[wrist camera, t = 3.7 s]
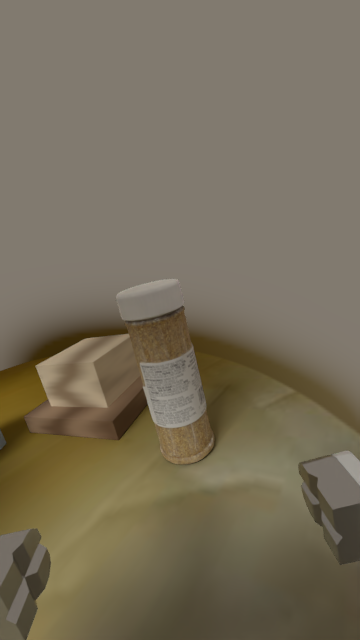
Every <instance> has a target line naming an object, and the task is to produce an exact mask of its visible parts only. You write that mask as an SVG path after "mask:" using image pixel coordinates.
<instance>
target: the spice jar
mask: <svg viewBox="0 0 360 640" xmlns="http://www.w3.org/2000/svg"><path fill="white" fill-rule="evenodd" d="M116 300H117V304H118V308H119V311H120V315H121V318H122V319H123V320H125V325H126V326H127V328H128V333H129V336H130V339H131V343H132V347H133V350H134V354H135V358H136V360H137V361H136V362H137V366H138V368H139V372H140V376H141V379H142V383H143V389H144V393H145V396H146V399H147V403H148V406H149V410H150V413H151V417H152V419H153V421H154V424H155V426H156V430H157V434H158V437H159V440H160V449H161V453H162V455H163V456H164V458H165V459H167V460H168V461H170V462H172V463H174V464H191V463H194V462H198V461H199V460H201V459H203V458H204V457H205V456H206V455H208V453H209V452H210V451H211V450H212V448H213V445H214V438H215V437H214V433H213V431H212V429H211V427H210V422H209V418H208V414H207V410H206V400H205V396H204V392H203V387H202V383H201V378H200V374H199V370H198V366H197V361H196V357H195V353H194V348H193V345H192V343H191V339H190V334H189V331H188V327H187V323H186V318H185V315H184V306H183V304H184V298H183V294H182V290H181V286H180V283H179V281H178V280H177V279H166V280H159V281H153V282H149V283H145V284H141V285H138V286H134V287H131V288H129V289H126V290H123V291H121V292H119V293H118V294H117V295H116Z"/></svg>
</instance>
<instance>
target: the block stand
mask: <svg viewBox="0 0 360 640" xmlns="http://www.w3.org/2000/svg"><path fill="white" fill-rule="evenodd" d="M136 361H137V360H136V358H135V354H134V350H133V347H132V343H131V339H130V336H129V334H122V335H113V336H104V337H95V338H86V339H84V340H82V341H80V342H78V343H76V344H75V345H73V346H71V347H69V348H67V349H65V350H64V351H62V352H60V353H58V354H56V355H54V356H53V357H51V358H49V359H47V360H45V361H43V362H42V363H40V364H38V365H36V369H37V371H38V374H39V376H40V379H41V381H42V384H43V387H44V389H45V392H46V394H47V397H48V400H46V401H45V402H44V403H42V404H41V405H39V406H38V407H37V408H35V409H34V410H32V411H31V412H30V413H28V414H27V415H25V416H24V419H25V421H26V424H27V426H28V428H29V431H30V432H32V433H43V434H55V435H67V436H78V437H90V438H101V439H113V440H119V439H120V438H121V436H122V435H123V434H124V433H125V431H126V430H127V429H128V428H129V426H130V425H131V424H132V423H133V421H134V420H135V419H136V418H137V416H138V415H139V414H140V413H141V411H142V410H143V409H144V408H145V406H146V405H147V404H148V403H147V399H146V396H145V393H144V389H143V383H142V379H141V376H140V372H139V368H138V366H137V362H136Z"/></svg>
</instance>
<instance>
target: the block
mask: <svg viewBox="0 0 360 640" xmlns="http://www.w3.org/2000/svg"><path fill="white" fill-rule="evenodd" d="M5 444H6V441H5V439H4V437H3V434H2V432H1V430H0V450H1V449H2V448H3V446H4V445H5Z"/></svg>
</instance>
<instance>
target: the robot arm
mask: <svg viewBox="0 0 360 640" xmlns="http://www.w3.org/2000/svg"><path fill="white" fill-rule="evenodd" d="M298 468H299V474H300V475H301V477H302V479H303V480H304V481H303V483H302V485H301V487H302V492H303V496H304V499H305V502H306V505H307V507H308V509H309V512H310V514H311V516H312V517H313V519H314V521H315V522H316V523H317V524H319V525H320V526H322V527H323V532H324V539H325V540H326V542H327V544H328V545H329V547H330V549H331V551H332V552H333V554H334V556H335V558H336V559H337V561H338V563H339V564H340V565H342V564H347V563H351V562H356V561H360V461H359V460H358V459H357V458H356V457H355V456H354V454H353V453H352V452H350V451H348V450H346V451H343V452H339V453H335V454H331V455H327V456H323V457H319V458H315V459H312V460H308V461H304V462H300V463H299V465H298ZM40 540H41V535H40V533H39V531H38V529H28V530H23V531H19V532H14V533H10V534H5V535H1V536H0V640H26V639H27V637H28V634H29V631H30V628H31V626H32V623H33V620H34V618H35V615H36V612H37V609H38V608H37V603H36V599H37V598H38V597H39V595H40V594H41V593H42V592H43V590H44V589H45V587H46V584H47V581H48V578H49V574H50V566H51V561H50V554H49V552H48V550H47V548H46V547H44V546H43V545H41V544H39V543H40Z"/></svg>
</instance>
